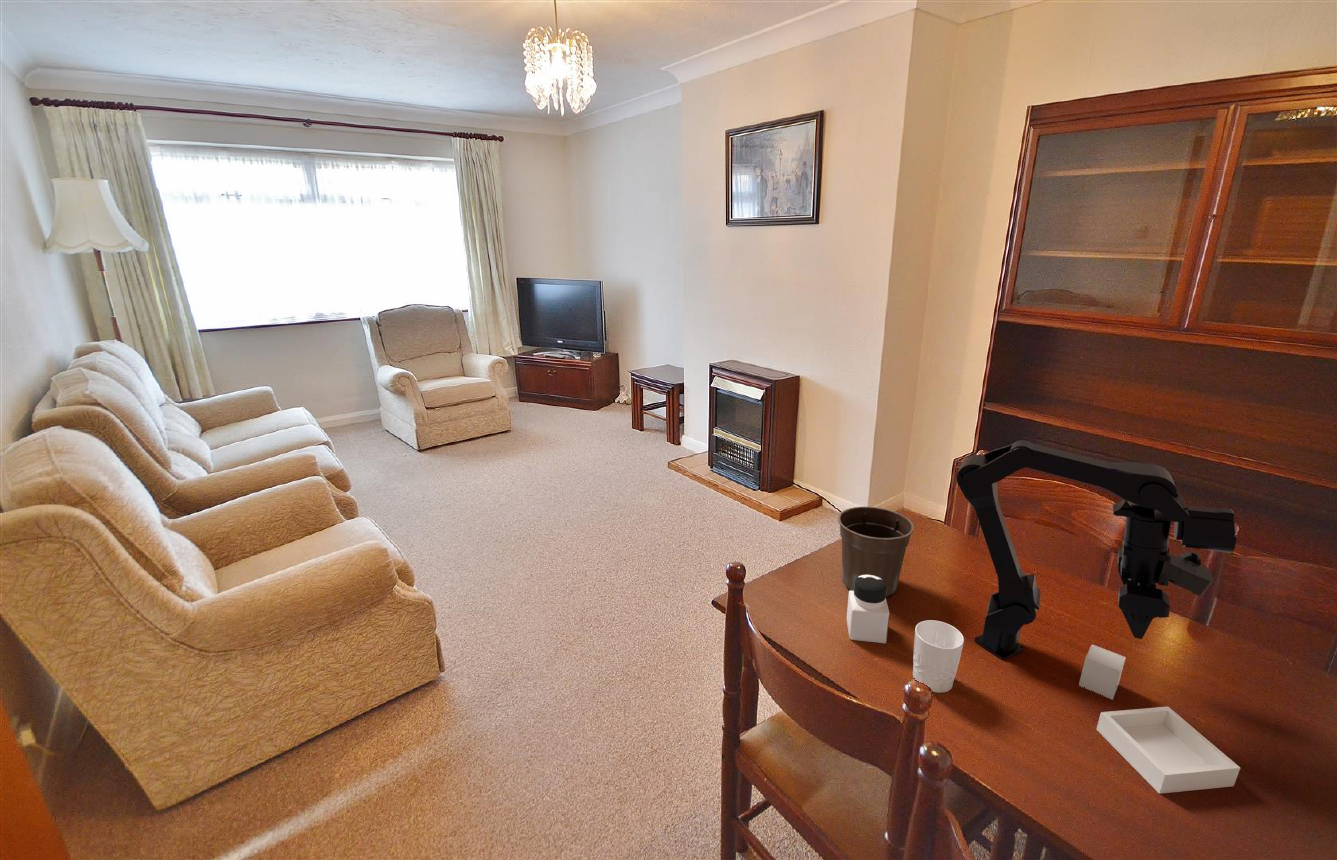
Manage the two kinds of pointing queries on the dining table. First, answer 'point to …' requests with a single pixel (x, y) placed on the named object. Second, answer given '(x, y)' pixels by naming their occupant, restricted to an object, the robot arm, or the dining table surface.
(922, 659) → the white cup
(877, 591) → the medicine bottle
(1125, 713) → the tray
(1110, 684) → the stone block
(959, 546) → the dining table surface
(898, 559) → the plant pot
